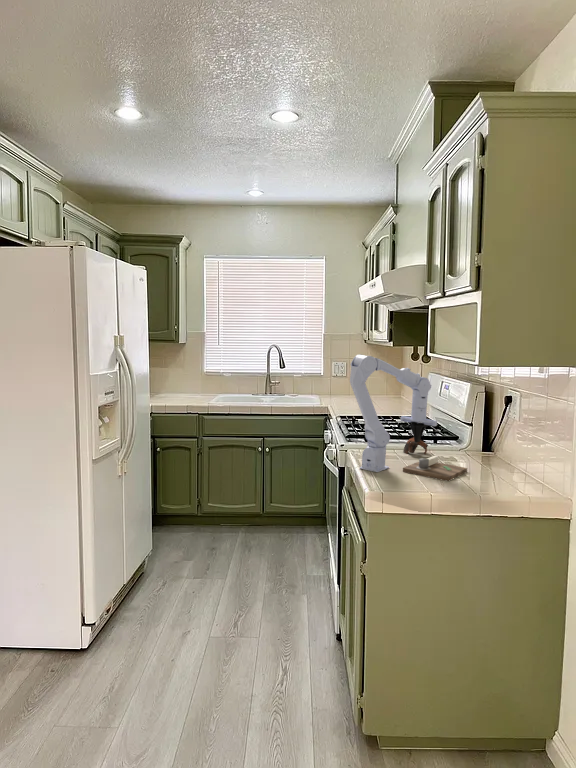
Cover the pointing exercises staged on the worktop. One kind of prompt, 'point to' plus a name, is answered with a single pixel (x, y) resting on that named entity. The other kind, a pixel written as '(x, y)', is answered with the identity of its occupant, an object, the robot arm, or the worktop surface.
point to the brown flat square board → (436, 471)
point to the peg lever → (427, 461)
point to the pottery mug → (414, 446)
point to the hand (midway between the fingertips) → (417, 441)
